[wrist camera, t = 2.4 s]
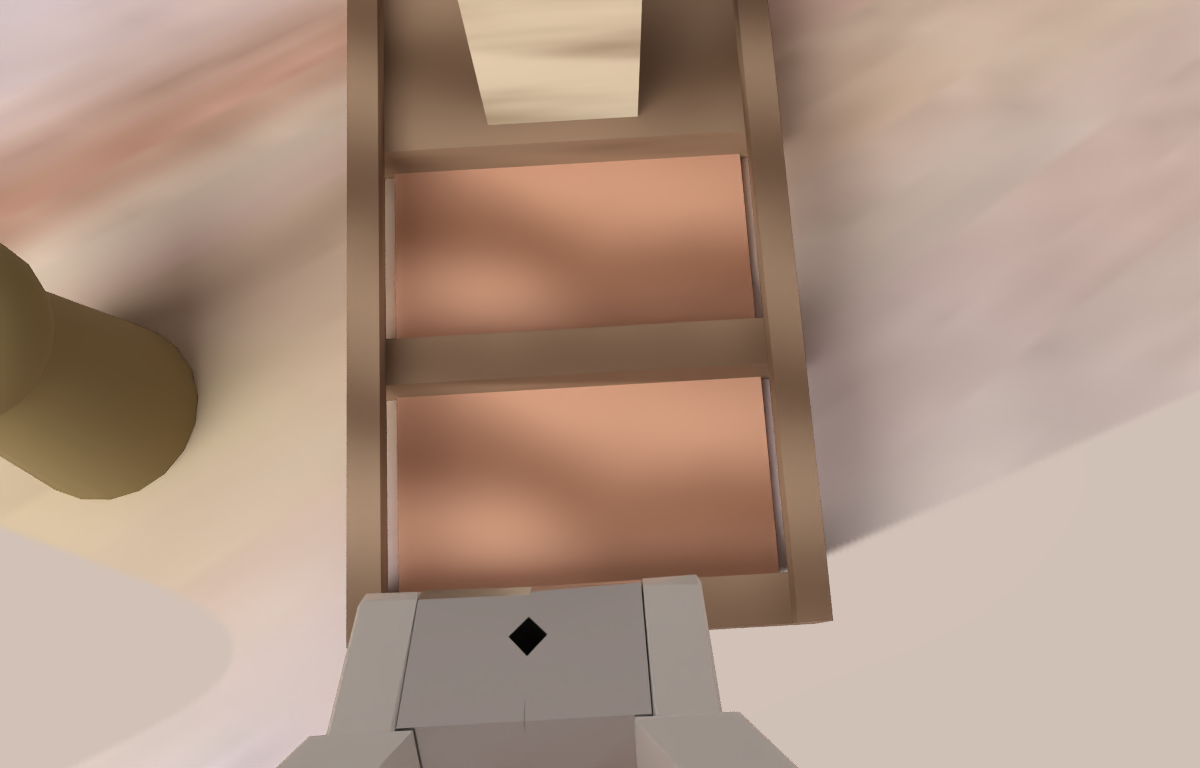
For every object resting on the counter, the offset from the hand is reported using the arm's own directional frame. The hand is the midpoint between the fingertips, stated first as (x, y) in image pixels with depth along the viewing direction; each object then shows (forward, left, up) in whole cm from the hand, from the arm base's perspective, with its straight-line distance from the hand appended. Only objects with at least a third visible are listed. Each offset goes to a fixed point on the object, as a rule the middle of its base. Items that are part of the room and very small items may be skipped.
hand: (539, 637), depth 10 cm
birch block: (-17, +10, -23) cm, 30 cm away
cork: (-15, -9, -25) cm, 31 cm away
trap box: (-13, +8, -25) cm, 29 cm away
